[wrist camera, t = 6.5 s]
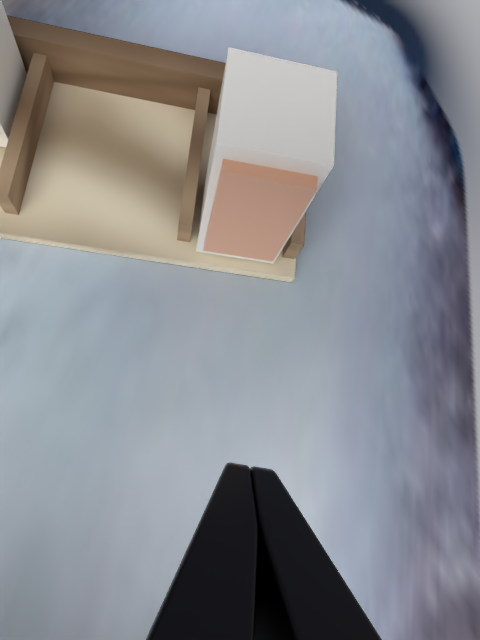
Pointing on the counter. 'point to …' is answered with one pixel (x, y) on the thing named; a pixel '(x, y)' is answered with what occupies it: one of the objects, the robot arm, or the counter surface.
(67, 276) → the counter surface
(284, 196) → the white tall block
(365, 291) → the counter surface
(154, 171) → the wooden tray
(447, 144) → the counter surface
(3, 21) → the white rectangular block
